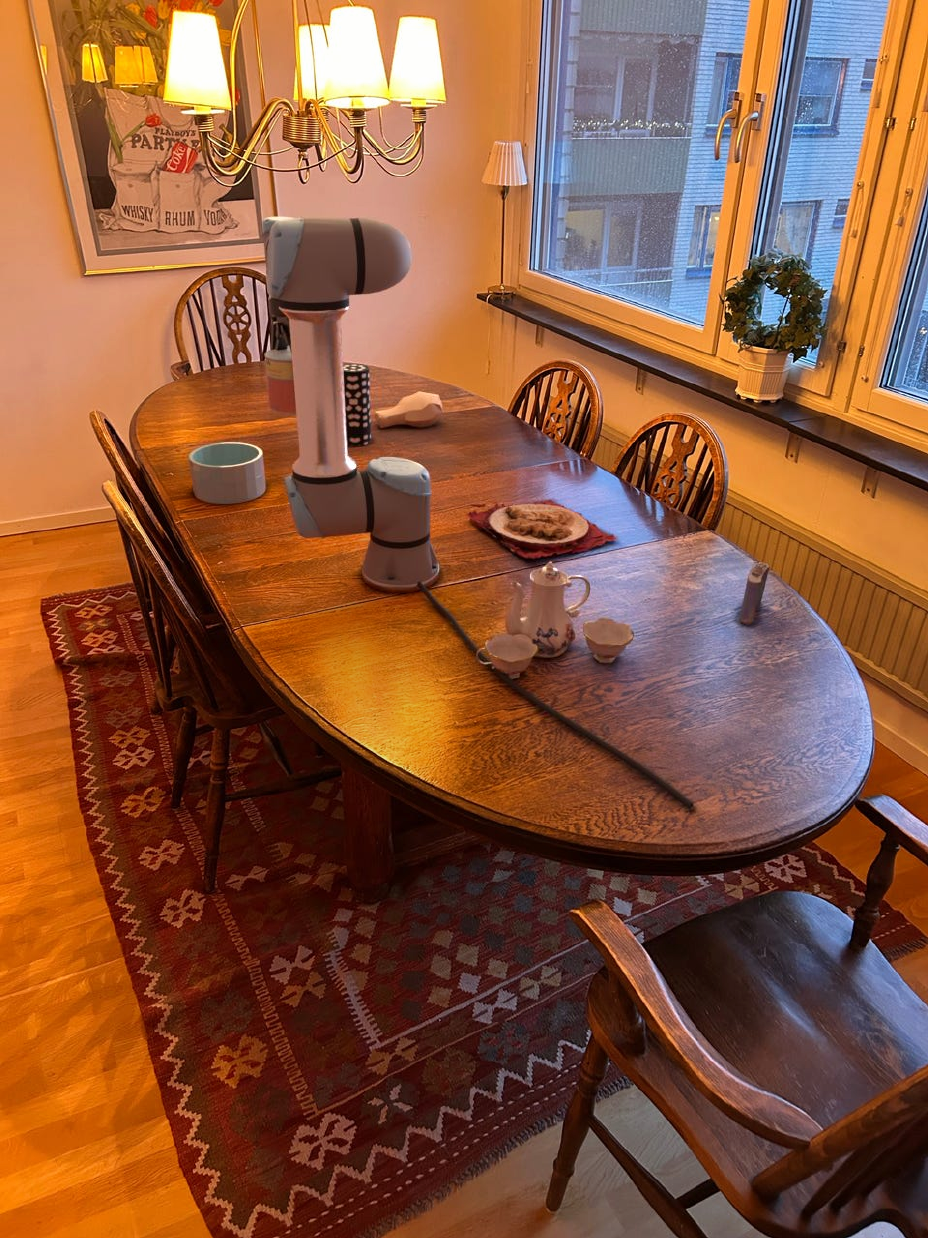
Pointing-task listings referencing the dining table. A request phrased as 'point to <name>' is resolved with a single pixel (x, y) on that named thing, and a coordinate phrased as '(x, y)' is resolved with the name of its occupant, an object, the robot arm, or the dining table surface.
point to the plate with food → (540, 528)
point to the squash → (412, 411)
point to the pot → (227, 472)
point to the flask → (753, 592)
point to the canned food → (280, 381)
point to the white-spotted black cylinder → (357, 404)
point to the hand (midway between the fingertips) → (293, 395)
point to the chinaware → (550, 626)
